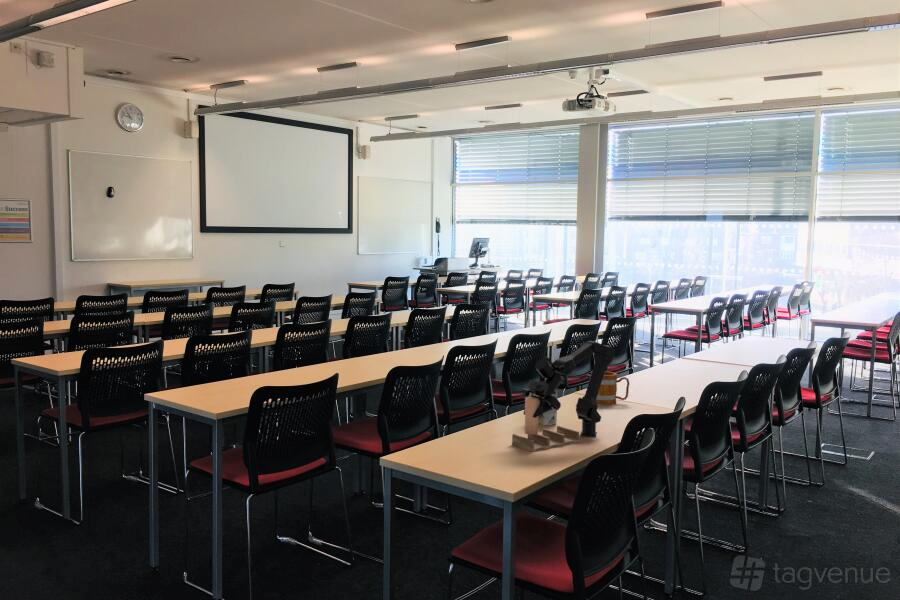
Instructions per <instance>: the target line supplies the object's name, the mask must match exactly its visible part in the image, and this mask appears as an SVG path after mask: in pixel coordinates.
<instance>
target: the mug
mask: <svg viewBox="0 0 900 600" xmlns="http://www.w3.org/2000/svg"><path fill="white" fill-rule="evenodd" d="M590 374H592V371H591V372H590ZM622 380H625V381H626V388H625V396H624V397H621V396H618V395H617V390H618V384H617V383H620V382H621V381H622ZM629 389H630V380H629V378H627V377H626V376H623V377H620V378H619V379H618V373H617V372H613V371H608V370H605V373H604V376H603V379H602V382H601V385H600V389H599V392H598V395H597V398H596V401H597V405H598V404H602V405H601V406H613V405H616V404H617V399H618V400H620V401H625V400H627V398H628V396H629ZM612 404H613V405H612Z"/></svg>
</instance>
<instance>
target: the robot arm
mask: <svg viewBox="0 0 900 600" xmlns="http://www.w3.org/2000/svg"><path fill="white" fill-rule="evenodd" d="M592 354H593V360H594V365H593V368H592V371H591V372H592V374H591V373H590V374H591V375H590V378H589V381H588V384H587V388H586V390H585V393H584V396H582V397H578V399H577V403H576V404H575V412H576V415H577V419H578V420H582V421H581V424H582V425H581V431H580V436H581V435H585V436H584V437H593V436H596V437H597V435H596V434H598V431H596V430H597V423H600V422H601V419H602V416H601V414H600V413H599V412H598V408H599V405H598V404H597V401H596V398H597V395H598V392H599V389H600V385H601V382H602V379H603V376H604V373H605V371H607V370H606V369H607V367H608V366H609V365H610V364H611V363H612V362H613V360H614V358H615V355H616V350H615V348H614V347H613V346H612V345H606V344H601V343H599V342H597V341H592V340H587V341H586V342H585V344H583V345H582V346H580V347H579V348H578V349H576V350H575V351H573V352H572V353H570V354H569V355H566V356H561V357H559V358H557V359H555V360H554V361H553V362H552V361H551V359H550V357H548V356H544V357H543V358H541V359H539V360H538V361H536V362H535V365H534V368H535V369H536V371H537V372H538V373H539V375H541V377H542V378H543V379H545V380H541V381H540V382H539V381H536V380H532V379H530V380H529V382H528V385H527V388H523V389H521V391H520V393H519V394H520V395H521V396H522V397H523V398H524V399H525V398H526V397H537V398H538V401H540V405H539V406H538V408H537V410H536V411H535V413H534V415H533V417H534V418H536V417H537V416H539V415H541V414H543V413H545V412H547V411H549V410H552V407H553V409H555V410H557V411H559V410H560V408H561V405H562V404H561V402H560V400H559V399H558V397H557V398H556V397H555V396H552V394H556V392H555V390H556V389H557V388H558V387H559V386H560V384H563V385H565V384H566V377H564V376H562V375H565V376H569V375H571V374H572V373H573V371H575V369H576V366H577V365H578V364H579V363H581V362H582V361H583V360H585V359H586V358H588V357H589V356H590V355H592ZM532 390H533V391H532ZM557 390H558V389H557ZM534 393H535V394H534ZM523 414H524V416H525V408H524V410H523Z"/></svg>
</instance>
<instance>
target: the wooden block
mask: <svg viewBox="0 0 900 600" xmlns="http://www.w3.org/2000/svg"><path fill="white" fill-rule="evenodd" d="M524 399H525V400H524V401H525V403H524V409H525V415H524V434H526V435H528V434H530V435H534V434H539V431H538V430H539V422H538V416H537V417H536V418H534V417H533V415H534V413H535V411H536V410H537V408H538V398H537V397H526V398H524Z"/></svg>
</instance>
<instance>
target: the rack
mask: <svg viewBox="0 0 900 600" xmlns="http://www.w3.org/2000/svg"><path fill="white" fill-rule="evenodd" d="M511 438H512V439H511V444H512V445H513V446H515V447H518V448H521V449H523V450H527V451H529V452H531V451H532V452H533V451H534V452H538V451H543V450H547V448H548V449H553V448H557V447H556V446H558V447H562V446H566V445H565V444H567V445H571V444H570V443H572V444H575V443H574V442H577V443H579V442H580V431H577V430H574V429H571V428H568V427H563V426H560V425H557V426H556V431H554V430H551V429H549V428H548V429H547V428H545V427H543V428H542V433H541V434H539V433H538V434H534V435H530V434H527V437H524V436H522V435H519V434H516V433H513V434H512V437H511ZM561 445H562V446H561ZM552 447H553V448H552Z"/></svg>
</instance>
